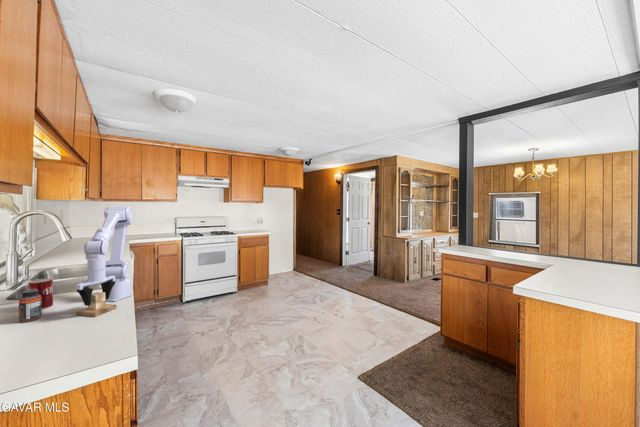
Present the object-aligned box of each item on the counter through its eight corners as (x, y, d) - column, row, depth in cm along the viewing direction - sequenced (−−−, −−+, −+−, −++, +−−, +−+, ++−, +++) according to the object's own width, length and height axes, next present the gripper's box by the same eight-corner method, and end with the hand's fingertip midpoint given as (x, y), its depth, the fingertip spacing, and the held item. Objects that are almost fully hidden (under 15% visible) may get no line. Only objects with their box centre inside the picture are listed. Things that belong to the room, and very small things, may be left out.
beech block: (97, 305, 112) (97, 291, 112) (105, 306, 112) (105, 292, 112) (87, 309, 108) (87, 294, 108) (95, 310, 108) (95, 295, 108)
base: (98, 307, 115) (98, 303, 115) (116, 308, 114) (116, 304, 114) (76, 315, 106) (76, 311, 106) (95, 316, 105) (95, 312, 105)
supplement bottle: (16, 320, 101) (16, 291, 101) (38, 315, 106) (38, 287, 106) (22, 324, 98) (21, 293, 98) (44, 318, 103) (44, 289, 103)
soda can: (53, 303, 119) (52, 277, 119) (53, 308, 114) (52, 280, 113) (29, 308, 114) (28, 280, 114) (27, 312, 109) (27, 283, 108)
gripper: (105, 265, 117) (105, 295, 118) (69, 273, 103) (69, 307, 103) (119, 266, 116) (119, 296, 117) (84, 274, 102) (84, 308, 102)
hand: (97, 301), depth 110 cm, fingers open, 7 cm apart
